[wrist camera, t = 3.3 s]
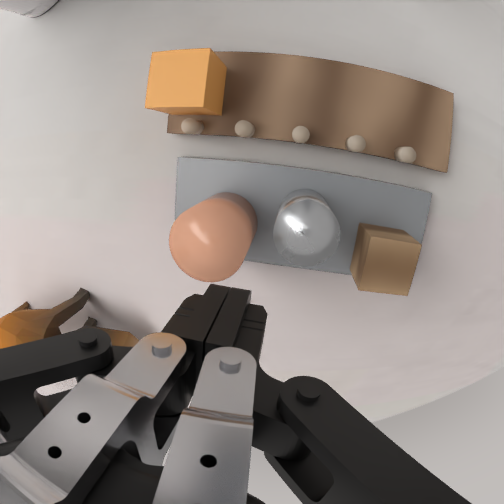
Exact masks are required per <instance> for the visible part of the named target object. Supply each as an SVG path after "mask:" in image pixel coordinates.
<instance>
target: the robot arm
mask: <svg viewBox="0 0 504 504" xmlns="http://www.w3.org/2000/svg"><path fill="white" fill-rule="evenodd" d="M57 1H58V0H0V9H3V10H7V11H11V12H15V13H18V14H20V15H25V16H29V17H37V16H39V15H41V14H43V13H45V12H46V11H47V10H48V9H50V8H51V7H52V6H53V5H54V4H55V3H56V2H57ZM250 300H251V291H250V290H244V289H238V288H233V287H232V288H230V287H226V286H221V285H215V284H210V286H209V287H208V289H207V290H206V292H205V293H204V295H198V294H194V295H192V296H190V297H188V298H186V299H185V300H184V301H183V303H182V304H181V305H180V307H179V308H178V309H177V311H176V312H175V314H174V315H173V316H172V318H171V319H170V320H169V322H168V323H167V324H166V326H165V327H164V329H163V330H162V331H161V332H160V333H152V334H149V335H147V336H145V337H143V338H142V339H141V340H140V341H139V342H138V343H137V344H136V345H135V346H134V347H127V346H113V345H112V343H111V338H110V336H109V335H108V333H106V332H105V331H103V330H100V329H97V328H85V329H80V330H76V331H72V332H68V333H64V334H60V335H56V336H52V337H48V338H44V339H40V340H36V341H32V342H28V343H23V344H19V345H15V346H10V347H6V348H2V349H0V504H265V503H264V502H262V501H261V500H259V499H257V498H256V497H254V496H252V495H250V494H248V493H247V489H248V478H249V468H250V457H251V446H253V447H255V448H257V449H260V450H262V451H264V455H265V457H266V459H267V461H268V462H269V463H270V464H271V466H272V467H273V468H274V469H275V471H276V472H277V473H278V474H279V476H280V477H281V478H282V479H283V481H284V482H285V483H286V484H287V486H288V487H289V488H290V489H291V490H292V491H293V493H294V494H295V495H296V496H297V497H298V498H299V500H300V501H301V502H302V503H303V504H471V503H470V502H469V501H467V500H466V499H465V498H463V497H462V496H460V495H459V494H458V493H456V492H455V491H454V490H453V489H451V488H450V487H449V486H448V485H446V484H445V483H444V482H442V481H441V480H440V479H438V478H437V477H436V476H435V475H433V474H432V473H431V472H430V471H428V470H427V469H426V468H424V467H423V466H422V465H421V464H420V463H418V462H417V461H416V460H415V459H413V458H412V457H411V456H410V455H409V454H407V453H406V452H405V451H404V450H403V449H401V448H400V447H399V446H398V445H396V444H395V443H394V442H393V441H392V440H390V439H389V438H388V437H387V436H386V435H384V433H382V432H381V431H380V430H379V429H378V428H376V427H375V426H374V425H373V424H372V423H371V422H370V421H368V420H367V419H366V418H365V417H364V416H363V415H362V414H360V413H359V412H358V411H357V410H356V409H355V408H354V407H352V406H351V405H350V404H349V403H348V402H347V401H346V400H345V399H343V398H342V397H341V396H340V395H339V394H338V393H337V392H336V391H335V390H333V389H332V388H331V387H330V386H329V385H328V384H327V383H325V382H324V381H322V380H320V379H317V378H314V377H310V376H297V377H293V378H291V379H288V380H287V381H285V382H281V381H279V380H276V379H274V378H272V377H270V376H269V375H267V374H266V373H265V372H264V371H263V370H262V368H261V367H260V365H259V359H260V354H261V349H262V343H263V337H264V331H265V325H266V319H267V313H266V311H265V309H264V307H263V306H260V305H254V304H250ZM74 377H76V380H77V383H78V384H77V385H76V386H75V387H74V388H73V389H70V390H67V391H63V392H60V393H56V394H52V395H49V396H43V395H40V394H39V393H38V392H37V391H36V389H37V388H39V387H41V386H45V385H49V384H52V383H56V382H60V381H63V380H67V379H70V378H74ZM192 396H193V397H192ZM191 398H192V400H191ZM190 400H191V403H190ZM189 403H190V406H189V408H188V405H189ZM169 447H170V449H169ZM168 449H169V453H168V456H167V459H166V462H165V465H164V466H162V463H163V460H164V457H165V455H166V453H167V451H168Z"/></svg>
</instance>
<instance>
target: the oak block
mask: <svg viewBox="0 0 504 504" xmlns="http://www.w3.org/2000/svg"><path fill="white" fill-rule="evenodd" d="M421 246H422V245H421V244H420V243H419V242H418V241H417V240H415V239H414V238H413V237H412V236H410V235H409V234H408V233H407V232H405V231H404V230H400V229H395V228H389V227H383V226H377V225H371V224H365V223H359V226H358V231H357V236H356V241H355V246H354V251H353V256H352V261H351V265H350V271H351V273H352V276H353V278H354V281H355V283H356V285H357V288H358V290H361V291H369V292H378V293H386V294H395V295H404V296H408V292H409V289H410V286H411V283H412V279H413V276H414V272H415V269H416V265H417V262H418V258H419V254H420V250H421Z"/></svg>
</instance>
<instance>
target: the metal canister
mask: <svg viewBox="0 0 504 504" xmlns="http://www.w3.org/2000/svg"><path fill="white" fill-rule="evenodd" d="M273 239H274V243H275V246H276V248H277V250H278V252H279V253H280V254H281V256H282V257H283V258H285V259H286V260H287V261H289V262H290V263H292V264H295V265H298V266H304V267H309V266H315V265H319V264H321V263H323V262H325V261H326V260H328V259H329V258H330V257H331V256H332V255H333V254H334V252H335V251H336V249H337V247H338V245H339V241H340V226H339V223H338V220H337V218H336V217H335V215H334V214H333V212H332V210H331V209H330V207H329V206H328V204H327V202H326V201H325V199H324V198H323V197H322V196H321V195H320V194H319V193H317V192H315V191H313V190H310V189H297V190H294V191H292V192H290V193H289V194H287V195H286V196H285V197H284V198H283V200H282V201H281V204H280V206H279V210H278V213H277V217H276V221H275V225H274V229H273Z"/></svg>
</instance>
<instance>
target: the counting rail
mask: <svg viewBox="0 0 504 504" xmlns="http://www.w3.org/2000/svg"><path fill="white" fill-rule="evenodd" d="M214 53H215V54H216V55H217V56H218V58H219V59H220V60H221V61H222V62H223V63H224V64H225V66H226V67H227V71H226V80H225V88H224V98H223V107H222V116H220V115H172V114H169V116H168V127H167V133H172V134H193V135H198V134H202V135H222V136H237V137H245V138H260V139H270V140H280V141H288V142H296V143H299V144H302V143H304V144H311V145H318V146H324V147H330V148H337V149H342V150H348V151H351V152H359V153H364V154H369V155H374V156H379V157H383V158H388V159H393V160H397V161H399V162H405V163H410V164H414V165H418V166H421V167H425V168H429V169H433V170H436V171H440V172H445V173H447V169H448V161H449V153H450V144H451V133H452V119H453V94H454V93H451V92H448V91H446V90H443V89H440V88H437V87H435V86H432V85H429V84H426V83H423V82H420V81H416V80H413V79H410V78H407V77H403V76H400V75H396V74H392V73H389V72H385V71H381V70H377V69H372V68H368V67H364V66H359V65H354V64H349V63H344V62H338V61H332V60H326V59H320V58H313V57H305V56H296V55H286V54H275V53H259V52H214Z"/></svg>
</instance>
